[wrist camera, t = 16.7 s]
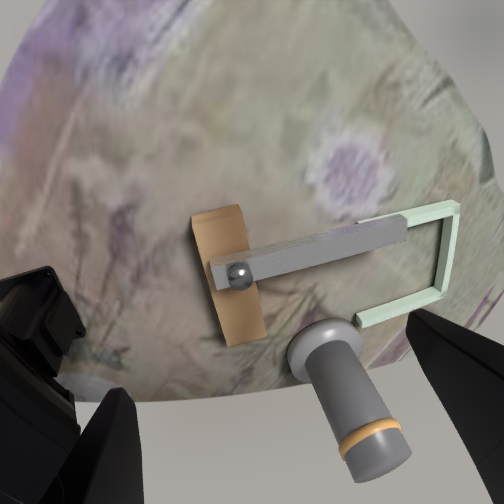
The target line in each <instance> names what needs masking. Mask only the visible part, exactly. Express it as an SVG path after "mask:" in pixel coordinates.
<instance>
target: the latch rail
mask: <svg viewBox="0 0 504 504" xmlns="http://www.w3.org/2000/svg"><path fill="white" fill-rule="evenodd" d="M191 216H192V228H193V231H194V235H195V239H196V242H197V246H198V249H199V253H200V256H201V260H202V263H203V267H204V270H205V274H206V277H207V281H208V284H209V288H210V291H211V294H212V298H213V301H214V304H215V308H216V311H217V314H218V317H219V321H220V324H221V327H222V330H223V333H224V337H225V340H226V343H227V346H228V347H229V346H233V345H237V344H241V343H245V342H249V341H253V340H257V339H261V338H265V337H267V336H266V330H265V325H264V320H263V315H262V310H261V305H260V300H259V295H258V290H257V285H256V281H253V283H252V285H251V286H250V287H249V288H248V289H246V290H243V291H237V290H234V289H232V288H231V287H228V288H224V289H220V290H217V289H216V285H215V281H214V278H213V274H212V271H211V266H210V260H209V259H213V258H217V257H221V256H225V255H230V254H234V253H238V252H242V251H246V250H250V249H249V244H248V239H247V234H246V229H245V224H244V219H243V214H242V211H241V209H240V207H239V205H238V204H236V205H231V206H227V207H223V208H219V209H215V210H210V211H206V212H202V213H198V214H194V215H191Z"/></svg>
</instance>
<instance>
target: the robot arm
mask: <svg viewBox="0 0 504 504" xmlns="http://www.w3.org/2000/svg"><path fill="white" fill-rule="evenodd" d="M46 272H48V273H49V274H50V275H48V274H47V273H46ZM79 331H81V332H79ZM85 332H86V330H85V328H84V326H83V324H82V322H81V321H80V319H79V315H78V314H77V312H76V310H75V308H74V306H73V304H72V303H71V301H70V299H69V297H68V295H67V293H66V292H65V291H64V289H63V287H62V286H61V284H60V282H59V280H58V278H57V276H56V273H55V271H54V270H53V268H52V267H50V266H44V267H41V268H37V269H34V270H31V271H28V272H24V273H21V274H18V275H15V276H11V277H8V278H5V279H2V280H0V504H144V492H143V474H142V452H141V443H140V436H139V428H138V421H137V412H136V406H135V403H134V402H133V400H132V399H131V397H130V396H129V395H128V393H127V392H126V390H125V389H124V388H122V387H119V388H112V389H110V390H109V391H108V393H107V394H106V396H105V397H104V399H103V400H102V402H101V404H100V405H99V407H98V408H97V410H96V411H95V413H94V414H93V416H92V418H91V419H90V421H89V423H88V424H87V426H86V427H85V429H84V430H83V432H82V434H81V435H80V433H81V427H80V425H79V424H77V419H76V411H75V403H74V395H73V394H72V393H71V392H70V391H69V390H66V389H65V388H64V387H62V386H61V385H60V384H59V383H58V382H57V381H56V380H54V379H53V377H57V375H58V372H59V369H60V366H61V362H62V359H63V356H66V355H67V354H68V351H69V347H70V344H71V341H72V339H76V338H82V337H84V335H85ZM406 336H407V338H408V340H409V342H410V344H411V347H412V349H413V351H414V353H415V355H416V357H417V359H418V361H419V363H420V366H421V368H422V370H423V372H424V374H425V376H426V377H427V379H428V381H429V382H430V384H431V386H432V387H433V389H434V391H435V393H436V394H437V396H438V397H439V399H440V401H441V403H442V405H443V406H444V408H445V410H446V411H447V413H448V415H449V417H450V419H451V420H452V422H453V424H454V426H455V428H456V430H457V431H458V433H459V435H460V437H461V439H462V440H463V443H464V444H465V446H466V448H467V450H468V452H469V454H470V456H471V458H472V460H473V462H474V464H475V466H476V468H477V470H478V472H479V474H480V476H481V478H482V480H483V482H484V484H485V486H486V489H487V491H488V493H489V495H490V497H491V499H492V502H493V504H504V345H501V344H499V343H497V342H495V341H493V340H491V339H488V338H486V337H484V336H482V335H480V334H478V333H475V332H473V331H471V330H469V329H467V328H464V327H462V326H460V325H458V324H456V323H453V322H451V321H449V320H447V319H445V318H442V317H440V316H438V315H436V314H434V313H431V312H429V311H427V310H425V309H422V308H419V309H416V310H413V311H411V312H410V313H409V315H408V321H407V326H406Z"/></svg>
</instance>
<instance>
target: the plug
mask: <svg viewBox="0 0 504 504" xmlns="http://www.w3.org/2000/svg"><path fill="white" fill-rule="evenodd" d="M362 350H363V340H362V337H361V336H360V334H359V333H358V331H357V330H356V328H355V327H354V325H353V324H352V323H351V322H349V321H347V320H345V319H341V318H329V319H324V320H321V321H318V322H316V323H313V324H311V325H310V326H308V327H306V328H305V329H303V330H302V331H301V332H300V333H299V334H298V335H297V336H296V337H295V338H294V339H293V340H292V342H291V343H290V345H289V348H288V351H287V360H288V363H289V365H290V368H291V371H292V373H293V375H294V377H295V378H296V379H298V380H299V381H301V382H304V383H310V384H311V383H312V385H313V387H314V389H315V392H316V394H317V396H318V399H319V401H320V403H321V405H322V408H323V410H324V412H325V415H326V417H327V419H328V422H329V424H330V426H331V429H332V431H333V433H334V436H335V438H336V440H337V443H338V445H339V453H340V455H341V457H342V459H343V461H346V464H347V466H348V468H349V470H350V473H351V475H352V477H353V480H354V482H355V483H363V482H367V481H371V480H373V479H376V478H378V477H380V476H383V475H385V474H387V473H388V472H390V471H392V470H394V469H395V468H397V467H398V466H400V465H401V464H402V463H404V462H405V461H406V460H407V459H408V458H409V457H410V456H411V454H412V451H411V449H410V447H409V445H408V444H407V442H406V440H405V438H404V436H403V435H402V433H401V431H402V429H401V427H400V425H399V423H398V422H397V420H396V419H395V418H392V415H391V414H390V412H389V410H388V408H387V407H386V405H385V403H384V402H383V400H382V398H381V396H380V395H379V393H378V391H377V390H376V388H375V386H374V384H373V383H372V381H371V379H370V378H369V376H368V374H367V373H366V371H365V369H364V368H363V366H362V364H361V363H360V361H359V357H360V355H361V353H362Z"/></svg>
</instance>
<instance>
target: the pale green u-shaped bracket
mask: <svg viewBox="0 0 504 504" xmlns="http://www.w3.org/2000/svg"><path fill="white" fill-rule="evenodd" d="M460 206H461V204H459V203H457V202H455V201H454V200H452V199H451V200H447V201H443V202H438V203H434V204H430V205H426V206H421V207H417V208H413V209H409V210H404V211H400V212H396V213H392V214H387V215H383V216H379V217H375V218H370V219H366V220H362V221H358V223H362V222H367V221H371V220H375V219H379V218H383V217H387V216H392V215H396V214H401V215H402V216H404V217H405V218H407V219H408V225H407V227H411V226H414V225H418V224H422V223H426V222H429V221H433V220H437V219H441V218H444V221H443V230H442V239H441V246H440V253H439V260H438V266H437V272H436V278H435V284H434V286H432V287H430V288H427V289H424V290H422V291H419V292H416V293H414V294H411V295H408V296H405V297H403V298H400V299H397V300H394V301H392V302H389V303H386V304H383V305H380V306H377V307H374V308H371V309H368V310H365V311H362V312H359V313H356V321H357V322H358V324H359V325H360V327H361V328H365V327H368V326H371V325H374V324H376V323H379V322H382V321H385V320H387V319H390V318H393V317H396V316H398V315H401V314H404V313H406V312H409V311H411V310H414V309H416V308H419V307H421V306H424V305H426V304H429V303H431V302H434V301H436V300H439V299H441V298H443V297H446V292H447V288H448V283H449V278H450V273H451V268H452V263H453V257H454V251H455V245H456V238H457V231H458V224H459V215H460Z"/></svg>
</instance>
